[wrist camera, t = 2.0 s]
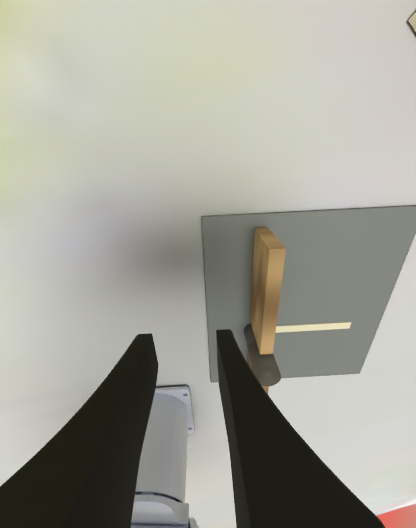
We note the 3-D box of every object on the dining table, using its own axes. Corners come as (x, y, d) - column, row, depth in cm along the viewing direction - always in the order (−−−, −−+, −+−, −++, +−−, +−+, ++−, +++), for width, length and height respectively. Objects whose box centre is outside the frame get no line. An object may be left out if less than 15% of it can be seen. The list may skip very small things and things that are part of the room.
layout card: (358, 371, 26) (360, 374, 26) (210, 380, 26) (210, 383, 25) (423, 205, 17) (427, 206, 17) (201, 216, 17) (201, 217, 17)
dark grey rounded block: (259, 376, 25) (272, 427, 21) (241, 377, 25) (251, 428, 21) (264, 321, 22) (282, 368, 17) (243, 322, 22) (256, 370, 17)
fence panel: (260, 319, 21) (272, 353, 18) (249, 320, 21) (260, 354, 18) (268, 227, 17) (286, 248, 14) (254, 228, 17) (269, 249, 14)
